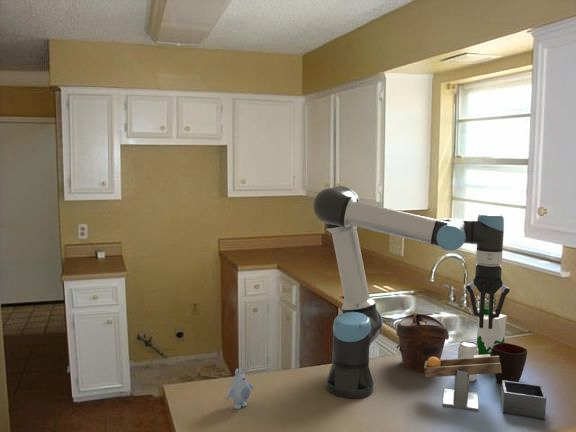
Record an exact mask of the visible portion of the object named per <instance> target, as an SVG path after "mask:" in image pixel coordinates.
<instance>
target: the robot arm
mask: <svg viewBox="0 0 576 432" xmlns="http://www.w3.org/2000/svg"><path fill="white" fill-rule="evenodd" d="M312 208H313V213H314V216H316V218H317V219H318V220H319V221H321V222H322V223H324V224H325V229H326V231H328V232H329V233H331V236H332V243H333V247H334V252H335V258H336V263H337V267H338V274H339V278H340V283H341V289H342V293H343V298H344V300H343V301H344V303H343V304H342V306H341V312H342V313H340V314H338V315H337V316H336V317H335V318H334V320H333V325H332V353H331V355H332V357H331V358H332V359H331V360H332V361H331V366H330V368H329V371H328V374H327V376H326V380H325V388H326V390H327V391H328V392H329V393H331V394H333V395H335V396H337V397H341V398H347V399H349V398H350V399H359V398H365V397H367V396H370V395H371V394H372V393H373V392H374V385H375V384H374V379H373V377H372V374H371V369H370V346H371V345H372V344H373V342H375V340H376V339H377V338H378V337H379V335H380V334H381V331H382V327H383V317H382V315H381V313H380V311H379V310H378V309H377V305H376V300H374V299H372V298H371V297H370V292H369V288H368V287H369V286H368V283H367V276H366V272H365V267H364V266H365V265H364V261H363V257H362V252H361V251H362V250H361V249H362V248H361V246H360V245H361V244H360V240H359V235H358V230H357V229H358V228H362V229H367V230H370V231H373V232H378V233H383V234H387V235H391V236H395V237H400V238H404V239H409V240H412V241H417V242H421V243H426V244H429V245H434V246H438V247H440V248H441V249H443V250H445V251H448V252H450V251H452V252H453V251H457V250H458V249H461V248H462V246H464V245H465V244H471V245H476V252H475V253H476V254H475V262H476V264H475V270H474V271H475V273H474V274H475V275H474V278H473V280H472V282H470V283H467V284H465V288H466V290H467V291H468V293H469V298H470V303H471V306H472V311H473V315H474V316H475V317H477V316H478V317H479V327H480V328H483V334H482V338H483V339H484V340H488V329H492V322H493V319H494V318H498V317H499V315H500V314H501V312H502V309H503V306H504V302H505V299H506V296H507V295H508V294H509V293H510V291H511V290H510V287H509V286H507V285H505V284H503V280H502V269H503V268H502V264H503V249H504V248H503V247H504V234H505V232H504V231H505V227H504V225H505V224H504V222H505V218H504V217H503V215H501V214H498V213H479V214H478V217H477V219H467V218H466V219H461V218H452V217H448V218H445V217H444V218H442V217H441V218H439V219H436V218H432V217H428V216H421V215H418V214H414V213H411V212H410V213H409V212H406V211H405V212H404V211H400V210H395V209H392V208H387V207H382V206H377V205H373V204H368V203H364V202H360V198H359V196H358V194H357V193H356V192H355V191H354V190H353V189H351V188H349V187H347V186H341V185H340V186H335V187H328V188H325V189H322V190H320V191H319V192H318V193H317V194H316V195H315V197H314V199H313V203H312ZM475 288H476V289H477V291H478V292H479V293H480V296H479V298H480V300H479V301H480V302H479V311H478V308H477V307H478V306H477V303H476V297H475V293H474V290H475ZM499 290H500V295H499V298H498V302H497V305H496V308H495V310H494V304H495V303H494V300H495V299H494V298H495V294H496V293H497V292H498V291H499ZM486 294H487V295H488V307H489V312H488V317H484V306H485V303H486V302H485V301H486ZM493 312H495V313H493Z"/></svg>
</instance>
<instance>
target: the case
mask: <svg viewBox="0 0 576 432" xmlns="http://www.w3.org/2000/svg"><path fill="white" fill-rule="evenodd" d="M396 336H398V341H399V345H397V346H396V350H398V349H399V352H400V354H401V361H402V365H403V366H404V367H405V368H407V369H408V370H410V371H413V372H417V373H425V370H424V367H425V361H428V359H429V358H430V357H437V358H438V359H439V360H442V359H441V358H442V355H443V351H444V347H445V343H446V340H447V341H448V340H449V339H450V335H449V331H448V328H447V327H446V326H445V325H444V324H443V323H442V322H441V321H440V320H438V319H437V318H435V317H433V316H430V315H427V314H424V313H412V314H410V315H407V316H405V317H403V318H402V319H400V321H399V322H398V324H396Z"/></svg>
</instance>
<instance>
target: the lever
mask: <svg viewBox="0 0 576 432" xmlns="http://www.w3.org/2000/svg"><path fill="white" fill-rule="evenodd" d="M440 363H441V365H440V367H428V365H427V361H425V367H424V370H425V372H424V375H425V376H424V377H425V378H436V377H437V378H438V377H455V376H457V369H458V370H466V371H468V375H475V374H477V375H487V374H488V375H489V374H490V375H491V374H495V373H502V371H501V364H500V360H499V356H490V354H485V355H474V357H472V358H458V357H457V358H447V359H446V358H444V359H440Z"/></svg>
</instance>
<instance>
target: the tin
mask: <svg viewBox="0 0 576 432" xmlns="http://www.w3.org/2000/svg"><path fill="white" fill-rule="evenodd" d="M500 391H501V392H500V403H501V410H502V414H503V415H509V416H516V417H523V418H529V419H536V420H543V421H545V420H546V405H547V397H546V394H545V393H546V392H545V390H544V388H543V385H539V384H534V383H527V382H525V383H524V382H520V381H519V382H512V381H504V380H502V385H501V390H500Z"/></svg>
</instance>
